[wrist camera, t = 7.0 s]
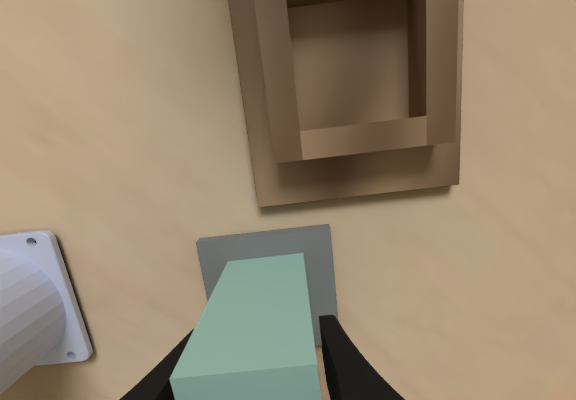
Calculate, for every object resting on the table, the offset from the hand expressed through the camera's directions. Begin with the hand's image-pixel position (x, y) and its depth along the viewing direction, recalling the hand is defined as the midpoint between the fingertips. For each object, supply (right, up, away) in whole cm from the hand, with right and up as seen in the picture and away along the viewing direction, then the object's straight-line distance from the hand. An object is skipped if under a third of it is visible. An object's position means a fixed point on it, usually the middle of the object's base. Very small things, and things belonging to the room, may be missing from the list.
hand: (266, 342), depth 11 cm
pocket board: (+4, +12, +1) cm, 13 cm away
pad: (0, +1, +4) cm, 4 cm away
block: (0, +1, +3) cm, 3 cm away
